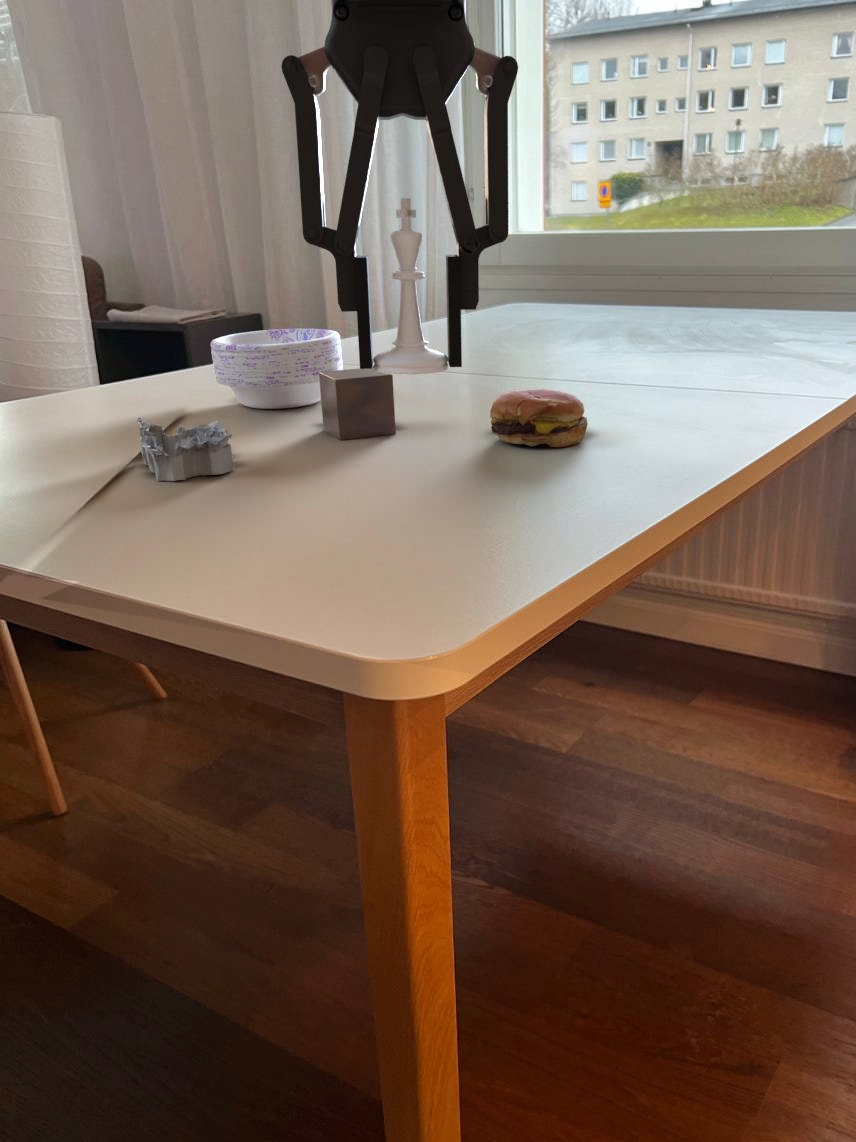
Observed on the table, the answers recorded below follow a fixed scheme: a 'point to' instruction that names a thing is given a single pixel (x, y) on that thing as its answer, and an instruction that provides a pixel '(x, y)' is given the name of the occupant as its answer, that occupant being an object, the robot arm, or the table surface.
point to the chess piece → (409, 308)
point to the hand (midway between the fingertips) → (410, 364)
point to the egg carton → (186, 451)
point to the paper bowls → (276, 365)
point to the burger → (538, 418)
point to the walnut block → (357, 403)
